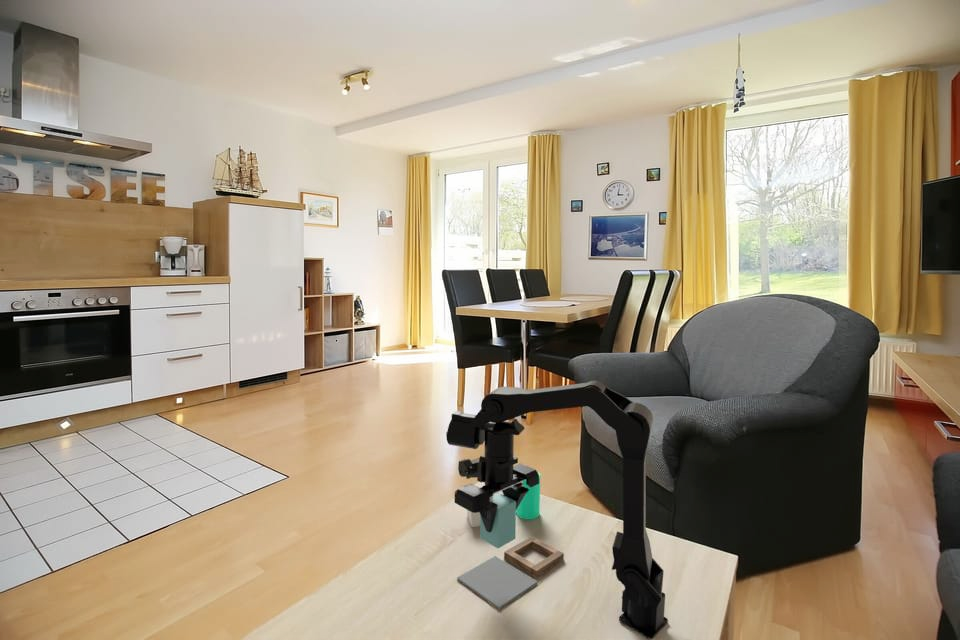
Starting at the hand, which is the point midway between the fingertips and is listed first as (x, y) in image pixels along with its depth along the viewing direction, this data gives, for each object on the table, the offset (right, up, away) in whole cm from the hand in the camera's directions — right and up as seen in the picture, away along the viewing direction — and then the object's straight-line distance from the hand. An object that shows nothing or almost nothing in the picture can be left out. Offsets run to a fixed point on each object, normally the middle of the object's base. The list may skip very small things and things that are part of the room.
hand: (498, 526), depth 101 cm
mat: (0, -12, +1) cm, 12 cm away
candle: (+9, -9, +29) cm, 31 cm away
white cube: (-3, -9, +26) cm, 27 cm away
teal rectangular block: (0, -3, 0) cm, 2 cm away
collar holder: (+8, -11, +9) cm, 16 cm away
